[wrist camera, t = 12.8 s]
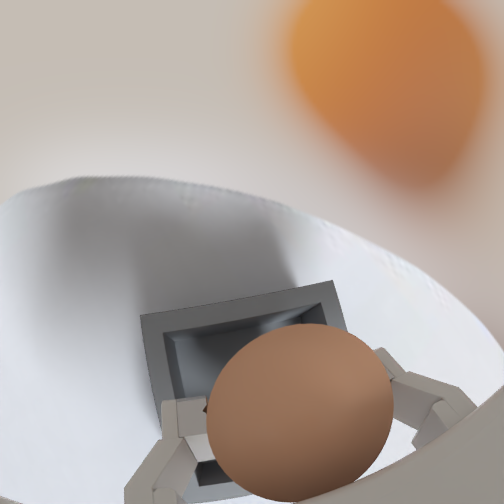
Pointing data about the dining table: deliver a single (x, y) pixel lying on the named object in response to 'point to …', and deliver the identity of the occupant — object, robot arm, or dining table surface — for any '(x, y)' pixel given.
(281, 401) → the canister
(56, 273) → the dining table surface
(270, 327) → the gray open box
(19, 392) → the dining table surface
